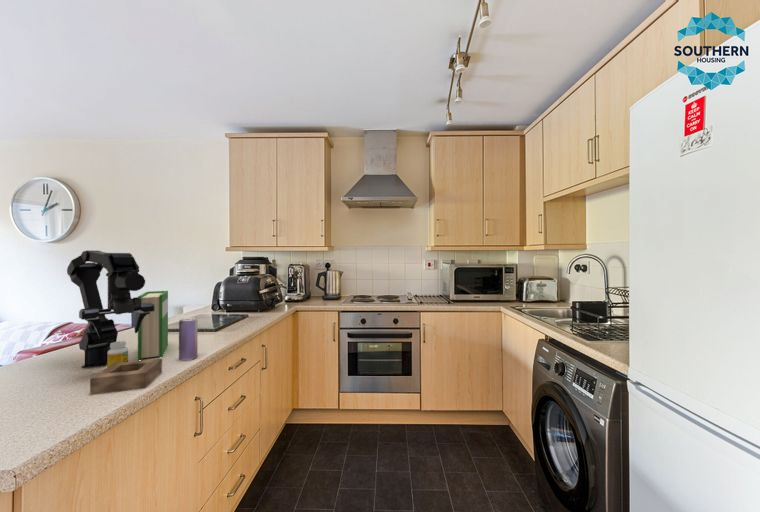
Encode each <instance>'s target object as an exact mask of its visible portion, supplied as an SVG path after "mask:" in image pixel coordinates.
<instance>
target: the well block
mask: <svg viewBox="0 0 760 512" xmlns="http://www.w3.org/2000/svg"><path fill="white" fill-rule="evenodd" d="M162 372H163V359H162V358H154V359H144V360H143V359H142V360H141V361H138V360H133V361H128V362H120V363H114V364H112V365H110V366H109V367H106V368H104V369H103V370H101V371H100V372H98V373H96V374H95V375H93V376H91V377H90V378H89V379H90V380H89V385H90V386H89V389H90V390H89V394H90V395H97V394H105V393H107V394H108V393H114V392H121V391H122V392H123V391H124V392H125V391H133V390H140V389H141V390H142V389H146V388H147V387H148V386H150V384H151V383H152V382H153V381H154V380H156V378H158V377H159V375H160V374H161V373H162ZM132 389H133V390H132Z"/></svg>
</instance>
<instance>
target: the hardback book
mask: <svg viewBox="0 0 760 512" xmlns="http://www.w3.org/2000/svg"><path fill="white" fill-rule="evenodd" d="M137 297H140V298H141V303H146V302H149V303H153V304H154V306H155V311H151V312H150V314H147V315H146V316H145V317H144V319H143V320H142V322H141V325H140V327H139V329H138V332H137V361H139V360H141V359H142V360H143V359H145V358H146V359H147V358H153V357H158V358H159V357H162V358H163V357H164V355H165V353H166V351H165V350H167V349H166V348H168V347H169V291H168V290H155V291H154V290H153V291H145V292H143V293H142V294H140V295H138V296H137ZM167 346H168V347H167ZM164 352H165V353H164ZM163 354H164V355H163Z"/></svg>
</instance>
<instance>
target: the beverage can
mask: <svg viewBox="0 0 760 512" xmlns="http://www.w3.org/2000/svg"><path fill="white" fill-rule="evenodd" d="M198 327H199V326H198V318H197V317H184V318H180V319H179V322H178V359H179V360H180V361H190V360H194V359H196V358H197V357H198V341H199V340H198Z"/></svg>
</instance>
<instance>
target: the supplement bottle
mask: <svg viewBox="0 0 760 512" xmlns="http://www.w3.org/2000/svg"><path fill="white" fill-rule="evenodd" d="M126 345H127V343H126V340H121V341H120V340H119V341H116V342H113V343H111V344H110V348H111V349H110V350H109V351H108V353H107V364H106V365H107V367H109V366H110V365H112V364H114V363H120V362H129V347H126ZM107 367H106V368H107Z"/></svg>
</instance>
